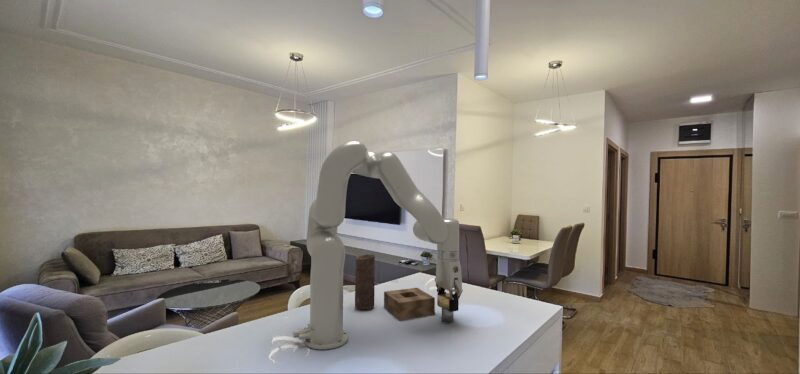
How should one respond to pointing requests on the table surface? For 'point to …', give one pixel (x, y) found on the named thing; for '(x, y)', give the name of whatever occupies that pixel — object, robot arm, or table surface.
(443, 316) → the pin
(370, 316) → the table surface
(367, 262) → the brown wooden cylinder
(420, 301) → the block
